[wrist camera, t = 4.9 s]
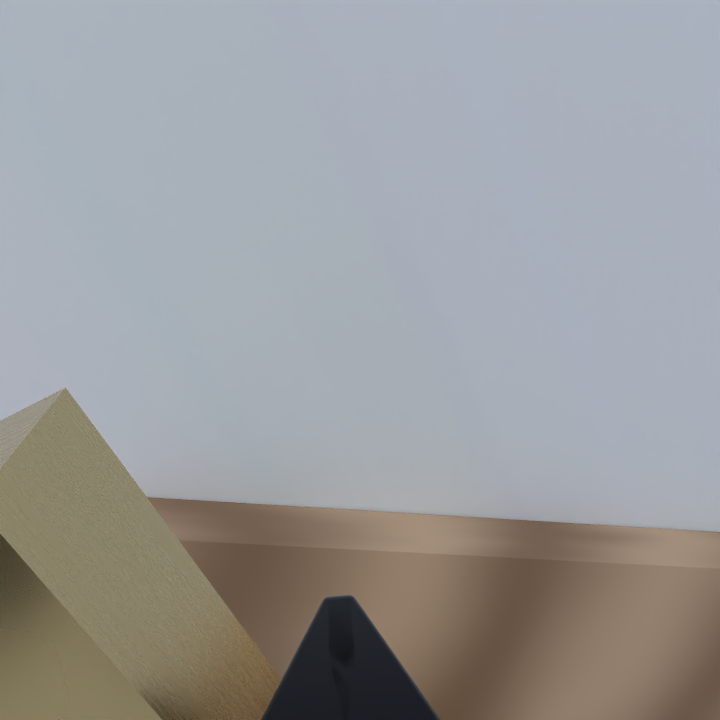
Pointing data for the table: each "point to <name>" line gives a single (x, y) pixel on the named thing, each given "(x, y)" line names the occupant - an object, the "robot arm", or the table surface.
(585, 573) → the base
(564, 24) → the table surface
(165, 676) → the beige elongated piece
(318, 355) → the table surface
